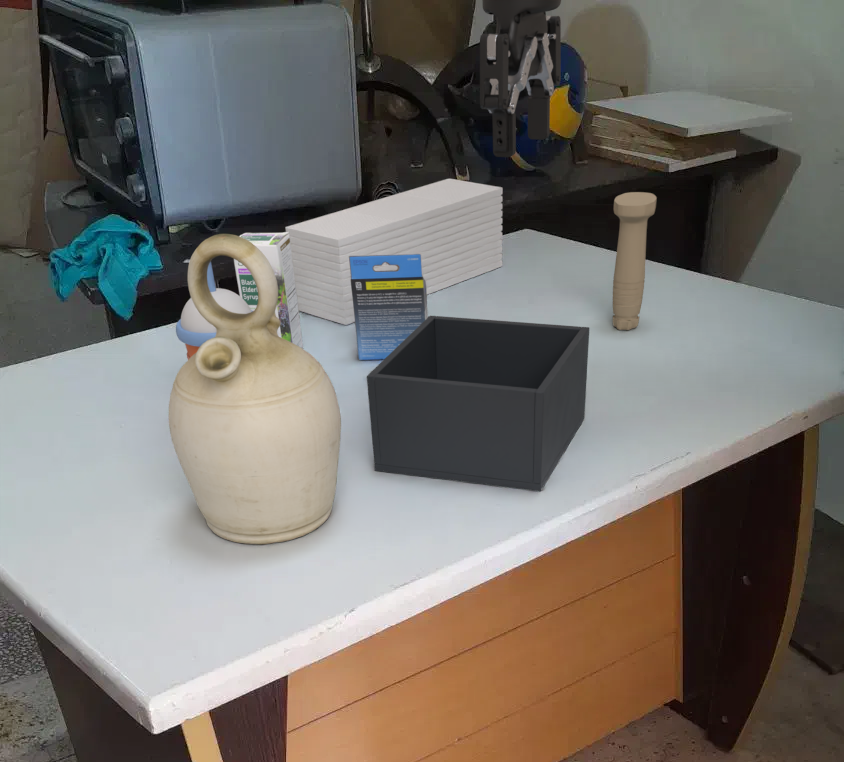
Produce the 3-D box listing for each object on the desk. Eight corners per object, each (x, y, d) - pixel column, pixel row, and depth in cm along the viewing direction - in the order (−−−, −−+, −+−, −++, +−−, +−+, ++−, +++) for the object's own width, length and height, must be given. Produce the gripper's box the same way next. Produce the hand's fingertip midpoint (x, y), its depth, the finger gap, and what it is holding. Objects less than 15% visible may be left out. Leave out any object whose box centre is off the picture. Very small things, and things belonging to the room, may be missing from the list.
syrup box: (249, 368, 127) (229, 243, 118) (262, 351, 131) (244, 229, 122) (293, 369, 126) (276, 243, 117) (305, 351, 131) (290, 229, 121)
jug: (285, 570, 90) (237, 271, 73) (157, 531, 96) (86, 249, 80) (381, 497, 99) (357, 218, 83) (258, 466, 106) (214, 202, 89)
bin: (584, 418, 111) (589, 327, 104) (540, 491, 98) (543, 392, 92) (433, 403, 116) (429, 315, 109) (374, 470, 104) (366, 375, 97)
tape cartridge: (430, 348, 129) (425, 244, 121) (427, 360, 126) (422, 254, 118) (361, 350, 130) (352, 246, 122) (357, 361, 127) (347, 256, 119)
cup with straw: (179, 427, 114) (142, 257, 103) (220, 396, 121) (189, 232, 109) (249, 436, 112) (219, 262, 100) (287, 404, 118) (263, 237, 106)
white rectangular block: (346, 325, 137) (337, 239, 130) (295, 310, 143) (285, 227, 136) (502, 266, 154) (502, 187, 146) (451, 254, 159) (449, 178, 152)
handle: (602, 334, 130) (610, 205, 120) (611, 317, 134) (619, 191, 124) (640, 336, 129) (651, 206, 119) (647, 319, 133) (659, 192, 123)
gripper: (527, -47, 88) (527, 164, 99) (588, -61, 97) (581, 134, 108) (450, -43, 91) (458, 161, 102) (516, -57, 100) (517, 132, 111)
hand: (522, 147), depth 105 cm, fingers open, 8 cm apart
